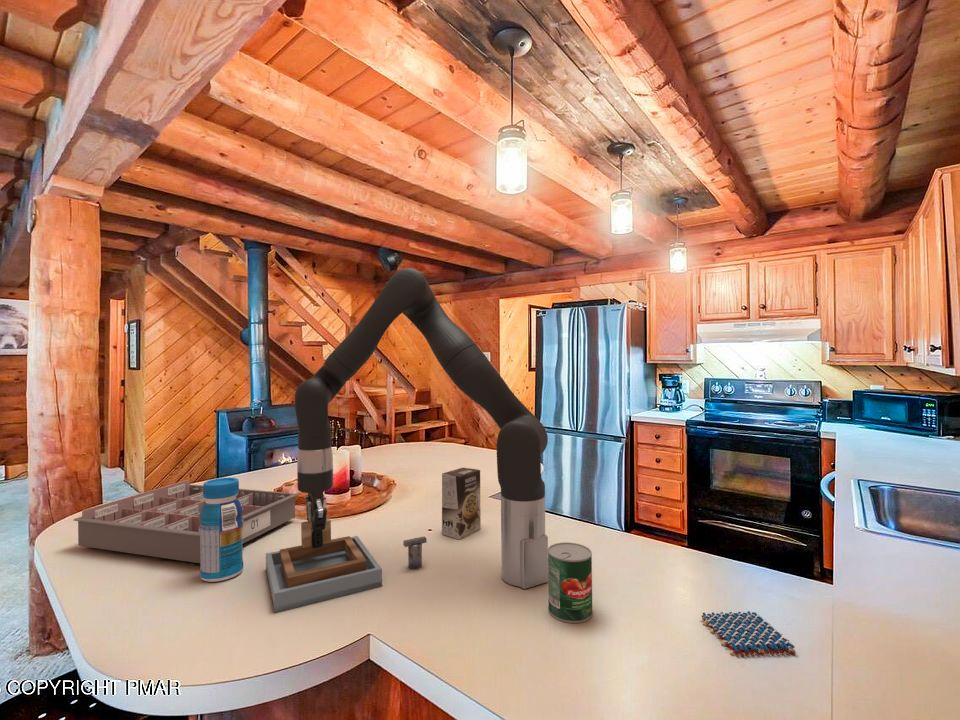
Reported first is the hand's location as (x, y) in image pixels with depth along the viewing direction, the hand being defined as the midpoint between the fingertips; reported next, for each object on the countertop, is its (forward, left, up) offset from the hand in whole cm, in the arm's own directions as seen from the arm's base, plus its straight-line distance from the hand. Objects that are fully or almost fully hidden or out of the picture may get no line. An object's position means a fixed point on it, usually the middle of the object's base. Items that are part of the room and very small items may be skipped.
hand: (316, 544), depth 104 cm
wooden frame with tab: (-7, 0, -2) cm, 7 cm away
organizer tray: (+35, +25, -5) cm, 43 cm away
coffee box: (+1, -37, -5) cm, 37 cm away
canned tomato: (-43, -37, -5) cm, 57 cm away
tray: (-7, 0, -5) cm, 8 cm away
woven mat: (-63, -57, -5) cm, 85 cm away
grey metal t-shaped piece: (-12, -19, -5) cm, 23 cm away
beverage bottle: (+5, +19, -5) cm, 20 cm away
